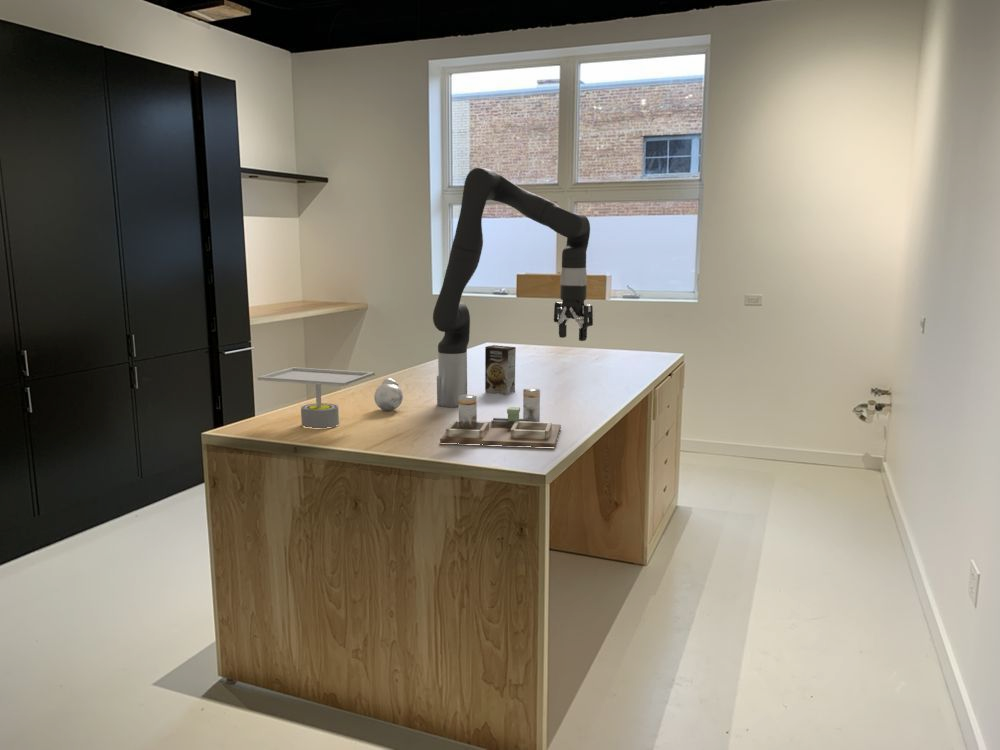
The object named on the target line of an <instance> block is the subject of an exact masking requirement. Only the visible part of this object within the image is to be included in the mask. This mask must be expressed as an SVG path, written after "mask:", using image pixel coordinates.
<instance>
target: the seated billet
mask: <svg viewBox="0 0 1000 750" xmlns="http://www.w3.org/2000/svg"><path fill="white" fill-rule="evenodd" d="M477 402H478V400H477V395H474V394H467V395H460V396H459V407H458V421H459V429H469V430H477V420H478V418H477V416H478V415H477V413H478V412H477V410H478V409H477V408H478V407H477V406H478V405H477V404H478V403H477Z"/></svg>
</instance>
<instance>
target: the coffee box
mask: <svg viewBox="0 0 1000 750" xmlns="http://www.w3.org/2000/svg"><path fill="white" fill-rule="evenodd" d="M516 349H517V348H516V346H508V345H496V344H493V345H487V346H485V350H484V351H485V352H484V353H485V354H484V355H485V357H484V359H485V362H484V363H485V364H484V366H485V367H484V372H485V373H484V374H485V375H484V381H485V382H484V384H485V385H484V386H485V387H484V391H485V393H487V394H488V393H490V394H497V393H499V394H498V395H506V394H508V395H510V393H511V394H513V393H516V353H517V352H516V351H517V350H516ZM512 392H513V393H512Z"/></svg>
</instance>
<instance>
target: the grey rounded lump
mask: <svg viewBox="0 0 1000 750" xmlns="http://www.w3.org/2000/svg"><path fill="white" fill-rule="evenodd" d="M403 396H404V394H403V391H402V389H401V388H400V386H399V382H397V381H396V380H395V379H392V378H391V377H387V378H385V379H383V380H382V382H381V384H380V385H379V386H377V388H376V389H375V392H374V396H373V398H374V403H375V405H376V406H377V407H378V408H380V410H382V411H388V412H391V411H394V410H396V409H398V408H399V407H400V406H401V404H402V402H403V399H404V397H403Z"/></svg>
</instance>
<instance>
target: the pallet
mask: <svg viewBox="0 0 1000 750" xmlns="http://www.w3.org/2000/svg"><path fill="white" fill-rule="evenodd" d="M561 428H562V426H561V423H560V424H558V423H557V424H555V423H552V422H548V421H547V422H546V421H540V422H529V419H523V418H519V421H508V417H493V418H492V419H491V421H477V430H469V429H459V420H453V421H452V422H451V423H450V424H449V425H448V426H447V427H446V428H445V433H443V435H442V436H441V437H440V439H439V444H440V443H457V444H458V443H459V444H480V445H482V444H483V445H502V446H531V447H555V448H556V446H555V445H557V443H558V440H557V438H558V439H559V437H558V435H559V436H560V434H559V432H560V433H561V430H562V429H561ZM560 429H561V430H560ZM556 442H557V443H556Z"/></svg>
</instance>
